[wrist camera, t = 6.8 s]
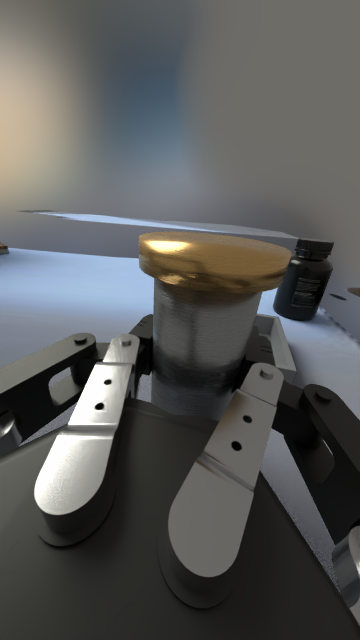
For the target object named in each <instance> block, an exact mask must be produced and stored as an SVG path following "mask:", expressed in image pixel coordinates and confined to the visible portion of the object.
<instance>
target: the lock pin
mask: <svg viewBox="0 0 360 640" xmlns="http://www.w3.org/2000/svg"><path fill="white" fill-rule="evenodd" d="M291 254H292V253H291V251H289V250H288V249H286V248H283V247H281V246H278V245H274V244H270V243H266V242H262V241H257V240H251V239H246V238H239V237H233V236H225V235H216V234H206V233H193V232H153V233H146V234H142V235H140V236H139V267H140V269H141V270H142V271H143V272H144V273H146V274H148V275H149V276H151V277H153V278H154V313H153V350H152V387H151V403H152V404H153V405H155V406H157V407H159V408H161V409H163V410H164V411H166V412H168V413H170V414H173V415H187V416H201V417H204V418H208V419H212V420H215V421H220V419H221V417H222V416H223V414H224V412H225V410H226V408H227V406H228V405H229V403H230V401H231V399H232V397H233V395H234V393H235V392H236V387H237V384H238V380H239V376H240V372H241V369H242V365H243V361H244V357H245V354H246V351H247V347H248V343H249V340H250V336H251V332H252V328H253V325H254V321H255V317H256V314H257V310H258V306H259V302H260V299H261V295H262V291H268V290H272V289H275V288H277V287H279V286H281V285H282V283H283V280H284V277H285V274H286V271H287V267H288V264H289V261H290V258H291Z"/></svg>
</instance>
